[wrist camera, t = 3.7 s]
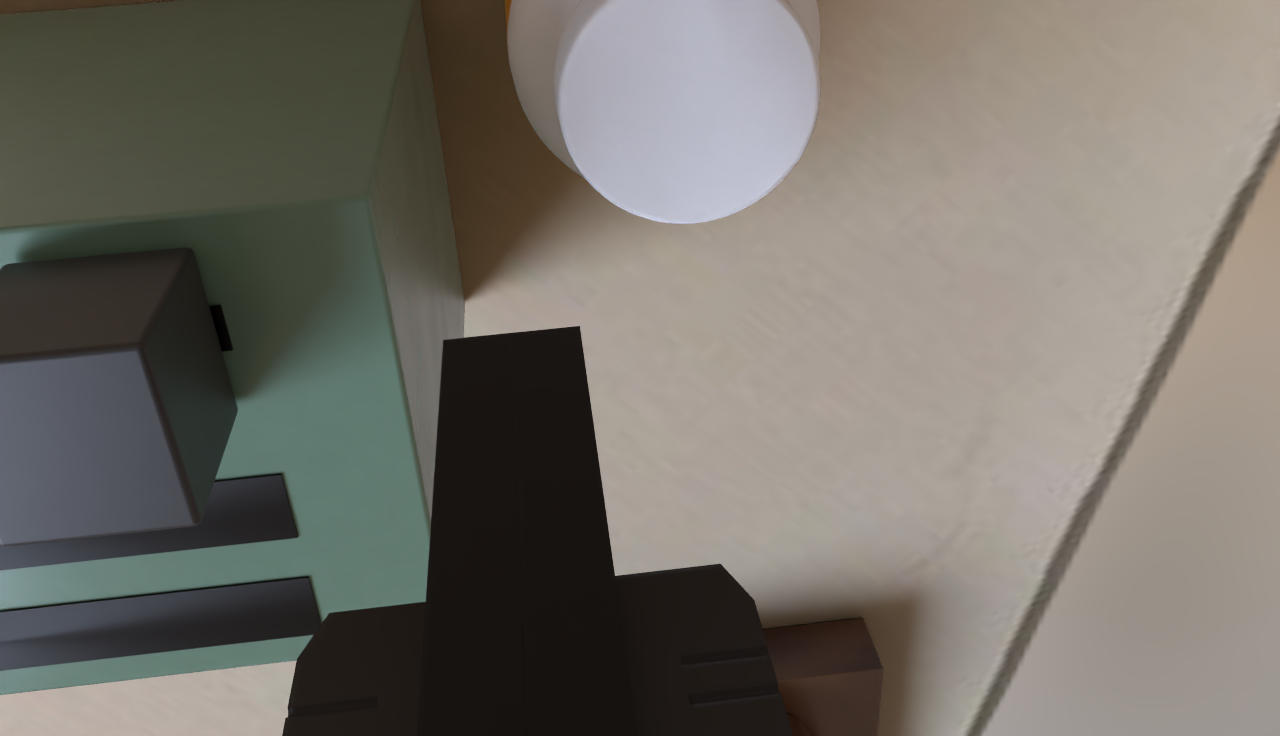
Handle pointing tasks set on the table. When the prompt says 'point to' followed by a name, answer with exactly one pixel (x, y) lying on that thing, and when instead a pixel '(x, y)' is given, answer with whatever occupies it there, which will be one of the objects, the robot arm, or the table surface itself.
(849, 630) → the button block
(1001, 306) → the table surface
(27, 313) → the slider
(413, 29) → the toaster
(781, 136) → the supplement bottle
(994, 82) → the table surface
